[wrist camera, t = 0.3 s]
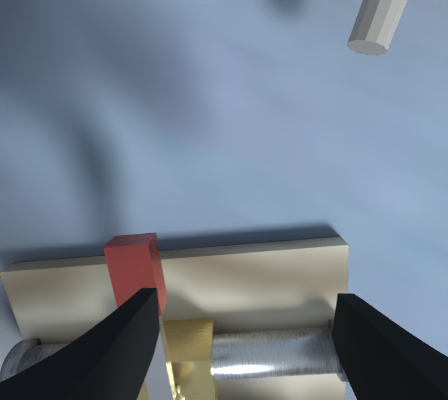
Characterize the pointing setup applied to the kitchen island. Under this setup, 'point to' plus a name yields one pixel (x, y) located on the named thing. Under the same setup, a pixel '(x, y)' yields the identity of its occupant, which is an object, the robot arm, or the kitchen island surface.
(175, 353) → the valve pipe
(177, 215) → the kitchen island surface
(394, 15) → the pipe connector
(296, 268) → the valve board
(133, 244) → the valve lever
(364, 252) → the kitchen island surface
